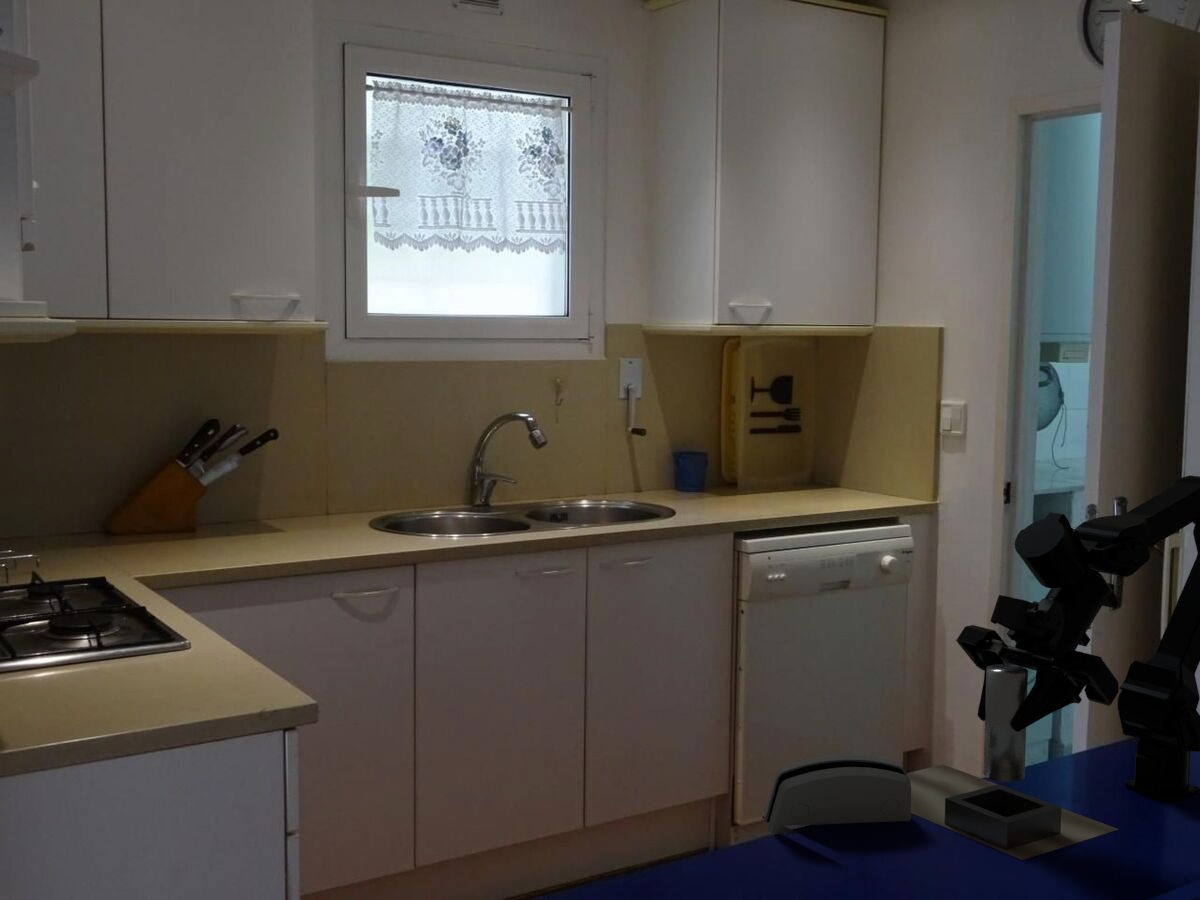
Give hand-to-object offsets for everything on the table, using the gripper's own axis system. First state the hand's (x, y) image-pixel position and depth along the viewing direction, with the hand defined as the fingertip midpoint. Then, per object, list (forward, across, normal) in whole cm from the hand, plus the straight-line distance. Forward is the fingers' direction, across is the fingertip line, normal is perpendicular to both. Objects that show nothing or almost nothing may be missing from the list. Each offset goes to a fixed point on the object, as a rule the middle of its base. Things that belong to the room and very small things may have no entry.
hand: (997, 723), depth 148 cm
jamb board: (+6, -6, +12) cm, 15 cm away
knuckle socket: (+8, 0, +10) cm, 12 cm away
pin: (+3, 0, +5) cm, 6 cm away
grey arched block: (+18, -12, +1) cm, 22 cm away
